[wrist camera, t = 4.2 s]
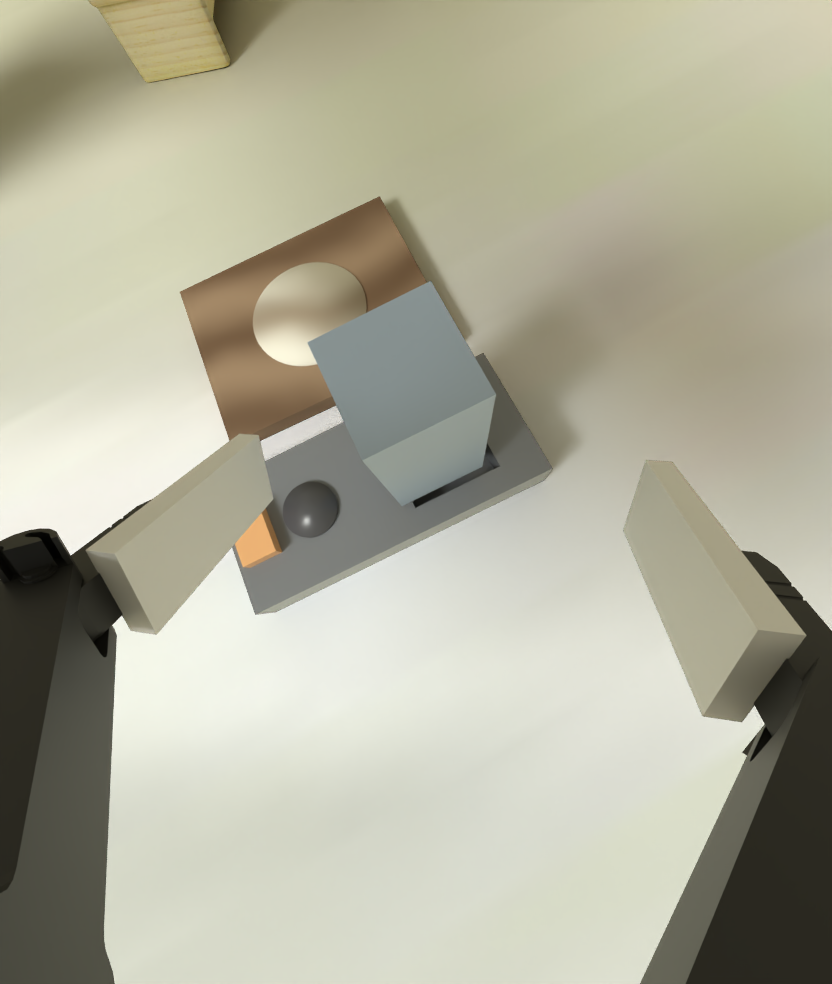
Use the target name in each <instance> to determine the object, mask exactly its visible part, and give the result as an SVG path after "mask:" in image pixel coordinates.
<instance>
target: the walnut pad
mask: <svg viewBox="0 0 832 984" xmlns="http://www.w3.org/2000/svg"><path fill="white" fill-rule="evenodd" d="M425 283H427V282H426V280H425V278H424V277H423V275H422V273H421V271H420V269H419V267H418V266H417V264H416V262H415V260H414V258H413V256H412V255H411V253H410V251H409V249H408V247H407V245H406V244H405V242H404V240H403V238H402V236H401V234H400V233H399V231H398V229H397V227H396V225H395V224H394V222H393V220H392V218H391V216H390V214H389V213H388V211H387V209H386V207H385V205H384V203H383V202H382V200H381V198H380V196H379V197H377V198H375V199H373V200H371V201H369V202H367V203H365V204H363V205H361V206H359V207H356V208H354V209H352V210H350V211H348V212H346V213H344V214H342V215H340V216H338V217H336V218H333V219H331V220H329V221H327V222H325V223H323V224H321V225H319V226H317V227H315V228H313V229H310V230H308V231H306V232H304V233H302V234H300V235H298V236H296V237H294V238H292V239H290V240H287V241H285V242H283V243H281V244H279V245H277V246H275V247H273V248H271V249H269V250H266V251H264V252H262V253H260V254H258V255H256V256H254V257H252V258H250V259H248V260H246V261H243V262H241V263H239V264H237V265H235V266H233V267H231V268H229V269H227V270H225V271H223V272H220V273H218V274H216V275H214V276H212V277H210V278H208V279H206V280H204V281H202V282H200V283H197V284H195V285H193V286H191V287H189V288H187V289H185V290H183V291H181V292H180V294H181V297H182V300H183V303H184V306H185V309H186V312H187V315H188V318H189V321H190V324H191V327H192V330H193V333H194V336H195V339H196V342H197V345H198V348H199V351H200V354H201V357H202V360H203V363H204V366H205V369H206V372H207V375H208V378H209V381H210V384H211V387H212V389H213V392H214V395H215V398H216V401H217V404H218V407H219V410H220V413H221V416H222V419H223V422H224V425H225V428H226V431H227V434H228V437H229V440H232V439H233V438H234V437H236V436H237V435H238V434H250V435H259V439H260V441H261V440H263V439H265V438H267V437H269V436H271V435H274V434H276V433H278V432H280V431H282V430H284V429H286V428H289V427H291V426H293V425H295V424H297V423H299V422H301V421H304V420H306V419H308V418H310V417H312V416H314V415H316V414H318V413H321V412H323V411H325V410H327V409H329V408H331V407H333V406H336V403H335V401H334V399H333V397H332V395H331V393H330V391H329V388H328V386H327V384H326V382H325V380H324V378H323V375H322V373H321V371H320V369H319V367H318V365H317V363H316V360H315V358H314V356H313V354H312V352H311V350H310V347H309V345H308V343H307V342H309V341H311V340H313V339H315V338H317V337H319V336H321V335H323V334H325V333H327V332H329V331H331V330H333V329H335V328H337V327H339V326H341V325H343V324H345V323H347V322H349V321H351V320H353V319H355V318H357V317H359V316H361V315H363V314H365V313H367V312H369V311H371V310H373V309H375V308H377V307H379V306H381V305H383V304H385V303H387V302H389V301H391V300H393V299H395V298H397V297H399V296H401V295H403V294H405V293H407V292H409V291H411V290H413V289H415V288H417V287H419V286H421V285H423V284H425Z"/></svg>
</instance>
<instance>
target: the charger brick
mask: <svg viewBox="0 0 832 984" xmlns="http://www.w3.org/2000/svg"><path fill="white" fill-rule="evenodd" d="M307 343H308V345H309V347H310V350H311V352H312V354H313V356H314V358H315V360H316V363H317V365H318V367H319V369H320V371H321V373H322V375H323V378H324V380H325V382H326V384H327V386H328V388H329V391H330V393H331V395H332V397H333V399H334V401H335V403H336V406H337V408H338V410H339V412H340V414H341V416H342V419H343V421H344V423H345V425H346V427H347V429H348V431H349V434H350V436H351V438H352V440H353V442H354V444H355V447H356V449H357V451H358V453H359V455H360V457H361V459H362V461H363V462H364V463H365V465H366V466H367V467H368V468H369V469H370V470H371V471H372V473H373V474H374V475H375V476H376V477H377V478H378V479H379V481H380V482H381V483H382V484H383V485H384V486H385V487H386V489H387V490H388V491H389V492H390V493H391V494H392V495H393V497H394V498H395V499H396V500H397V501H398V502H399V503H400V505H401V506H404V505H406V504H408V503H410V502H412V501H414V500H416V499H418V498H420V497H422V496H424V495H426V494H428V493H430V492H432V491H434V490H436V489H438V488H440V487H442V486H444V485H446V484H448V483H450V482H452V481H454V480H456V479H458V478H461V477H463V476H465V475H467V474H469V473H471V472H473V471H475V470H477V469H479V468H481V467H482V466H483V461H484V455H485V450H486V445H487V440H488V434H489V429H490V424H491V418H492V413H493V408H494V403H495V397H496V393H495V392H494V390H493V388H492V386H491V385H490V383H489V381H488V379H487V378H486V376H485V374H484V372H483V371H482V369H481V367H480V365H479V364H478V362H477V360H476V358H475V357H474V355H473V353H472V352H471V350H470V348H469V346H468V345H467V343H466V341H465V339H464V338H463V336H462V334H461V332H460V331H459V329H458V327H457V325H456V324H455V322H454V320H453V319H452V317H451V315H450V313H449V312H448V310H447V308H446V306H445V305H444V303H443V301H442V299H441V298H440V296H439V294H438V292H437V291H436V289H435V287H434V285H433V284H432V282H431V281H429V282H427V283H425V284H423V285H421V286H419V287H417V288H415V289H413V290H411V291H409V292H407V293H405V294H403V295H401V296H399V297H397V298H395V299H393V300H391V301H389V302H387V303H385V304H383V305H381V306H379V307H377V308H375V309H373V310H371V311H369V312H367V313H365V314H363V315H361V316H359V317H357V318H355V319H353V320H351V321H349V322H347V323H345V324H343V325H341V326H339V327H337V328H335V329H333V330H331V331H329V332H327V333H325V334H323V335H321V336H319V337H317V338H315V339H313V340H311V341H309V342H307Z"/></svg>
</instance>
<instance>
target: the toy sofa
mask: <svg viewBox="0 0 832 984" xmlns="http://www.w3.org/2000/svg"><path fill="white" fill-rule="evenodd" d="M88 1H89V2H90V3H91V4H92V5H93V6H94V7H97V8H98V9H99V11H100V12H101V14H102V15H103V17H104V19H105V20H106V22H107V23H108V25H109V26H110V28H111V29H112V31H113V32H114V34H115V35H116V37H117V39H118V40H119V42H120V43H121V45H122V46H123V48H124V49H125V51H126V53H127V54H128V56H129V57H130V59H131V61H132V62H133V64H134V65H135V67H136V68H137V70H138V71H139V73H140V75H141V76H142V77H143V79H144V80H145V81H146V82H154V81H159V80H165V79H170V78H175V77H180V76H184V75H189V74H194V73H199V72H204V71H209V70H214V69H219V68H224V67H226V66H228V65H229V64H230V57H229V55H228V53H227V50H226V48H225V46H224V44H223V41H222V39H221V37H220V35H219V33H218V30H217V28H216V26H215V23H214V20H213V11H214V2H215V0H88Z"/></svg>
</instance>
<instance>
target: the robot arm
mask: <svg viewBox="0 0 832 984" xmlns="http://www.w3.org/2000/svg"><path fill="white" fill-rule="evenodd" d="M272 500H273V495H272V491H271V486H270V482H269V478H268V473H267V469H266V465H265V460H264V456H263V452H262V447H261V443H260V439H259V435H250V434H238V435H237V436H236V437H234V438H233V439H232V440H230V441H229V442H228V443H226V444H225V445H224V446H222V447H221V448H220V449H218V450H217V451H216V452H215V453H213V454H212V455H211V456H209V457H208V458H207V459H205V460H204V461H203V462H201V463H200V464H199V465H197V466H196V467H195V468H193V469H192V470H191V471H189V472H188V473H187V474H185V475H184V476H183V477H181V478H180V479H179V480H177V481H176V482H175V483H174V484H172V485H171V486H170V487H168V488H167V489H166V490H164V491H163V492H162V493H160V494H159V495H158V496H156V497H155V498H154V499H152V500H150V501H147V502H145V503H143V504H141V505H139V506H137V507H136V508H134V509H133V510H132V511H130V512H129V513H128V514H126V515H125V516H124V517H123V519H120V520H118V521H117V522H115V523H114V524H113V525H112V527H111V528H110V527H109V528H107V529H106V530H105V531H103V532H102V533H101V534H99V535H98V536H97V537H95V538H94V539H93V540H91V541H90V542H89V543H87V544H86V545H85V546H83V547H82V548H81V549H79V550H78V551H76V552H75V553H74V554H72V555H71V556H70V554H69V552H68V550H67V549H66V547H65V545H64V544H63V542H62V540H61V539H60V537H59V535H58V534H57V532H56V531H54V530H52V529H35V530H29V531H25V532H22V533H19V534H15V535H12V536H10V537H8V538H6V539H4V540H2V541H0V984H115V983H114V977H113V971H112V968H111V965H110V962H109V959H108V956H107V953H106V950H105V943H104V913H105V890H106V867H107V844H108V821H109V798H110V775H111V753H112V730H113V707H114V684H115V661H116V638H117V635H116V632H115V629H114V628H113V626H112V625H113V624H114V623H115V622H116V621H117V620H118V619H119V618H120V617H121V616H123V618H124V620H125V621H126V623H127V625H128V627H129V628H130V630H131V631H135V632H142V633H149V634H155V635H157V634H158V632H159V631H160V630H161V629H162V628H163V627H164V625H165V624H166V623H167V622H168V621H169V620H170V618H171V617H172V616H173V615H174V614H175V613H176V612H177V610H178V609H179V608H180V607H181V606H182V605H183V603H184V602H185V601H186V600H187V599H188V598H189V596H190V595H191V594H192V593H193V592H194V591H195V589H196V588H197V587H198V586H199V585H200V584H201V583H202V581H203V580H204V579H205V578H206V577H207V576H208V574H209V573H210V572H211V571H212V570H213V569H214V567H215V566H216V565H217V564H218V563H219V562H220V560H221V559H222V558H223V557H224V556H225V555H226V553H227V552H228V551H229V550H230V549H231V548H232V547H233V545H234V544H235V543H236V542H237V541H238V540H239V538H240V537H241V536H242V535H243V534H244V533H245V531H246V530H247V529H248V528H249V527H250V526H251V524H252V523H253V522H254V521H255V520H256V519H257V518H258V516H259V515H260V514H261V513H262V512H263V511H264V509H265V508H266V507H267V506H268V505H269V504H270V502H271V501H272ZM623 531H624V533H625V535H626V538H627V540H628V543H629V545H630V547H631V550H632V552H633V554H634V557H635V559H636V561H637V564H638V566H639V568H640V571H641V573H642V575H643V578H644V580H645V582H646V585H647V587H648V589H649V592H650V594H651V597H652V599H653V601H654V604H655V606H656V608H657V611H658V613H659V615H660V618H661V620H662V622H663V625H664V627H665V629H666V632H667V634H668V636H669V639H670V641H671V643H672V646H673V648H674V651H675V653H676V655H677V658H678V660H679V662H680V665H681V667H682V669H683V672H684V674H685V676H686V679H687V681H688V683H689V686H690V688H691V690H692V693H693V695H694V697H695V700H696V702H697V705H698V707H699V709H700V712H701V714H702V716H704V717H711V718H718V719H724V720H731V721H738V722H742V721H743V720H744V719H745V717H746V716H747V715H748V713H749V712H750V711H751V709H752V708H753V707H754V705H755V707H756V709H757V710H758V712H759V714H760V716H761V718H762V720H763V721H764V723H765V725H764V726H763V727H762V728H761V730H760V731H759V732H758V733H757V735H756V736H755V737H754V738H753V740H752V741H751V742H750V743H749V745H748V746H747V747H746V748H745V750H744V751H743V753H744V754H745V755H747V757H746V759H745V761H744V764H743V766H742V768H741V770H740V772H739V774H738V776H737V778H736V781H735V783H734V785H733V787H732V789H731V791H730V793H729V796H728V798H727V800H726V802H725V804H724V806H723V808H722V810H721V813H720V815H719V817H718V819H717V821H716V823H715V825H714V827H713V830H712V832H711V834H710V836H709V838H708V840H707V842H706V845H705V847H704V849H703V851H702V853H701V855H700V857H699V859H698V862H697V864H696V866H695V868H694V870H693V872H692V874H691V876H690V879H689V881H688V883H687V885H686V887H685V889H684V891H683V894H682V896H681V898H680V900H679V902H678V904H677V906H676V908H675V911H674V913H673V915H672V917H671V919H670V921H669V923H668V925H667V928H666V930H665V932H664V934H663V936H662V938H661V940H660V943H659V945H658V947H657V949H656V951H655V953H654V955H653V957H652V960H651V962H650V964H649V966H648V968H647V970H646V972H645V974H644V977H643V979H642V981H641V983H640V984H832V631H831V630H830V629H829V627H828V626H827V625H826V624H825V623H824V621H823V620H822V619H821V618H820V617H819V616H818V614H817V613H816V612H815V611H814V610H813V608H812V607H811V606H810V605H809V604H808V603H807V601H803V597H802V595H801V594H800V593H799V592H798V591H797V590H796V588H795V587H792V586H791V582H790V581H789V580H788V579H787V578H786V577H785V575H784V574H783V573H782V572H781V571H780V569H779V568H778V567H777V566H775V565H774V564H772V563H771V562H769V561H768V560H767V559H765V558H764V557H762V556H761V555H760V554H758V553H757V552H747V551H741V550H740V549H739V548H738V546H737V545H736V544H735V542H734V541H733V540H732V539H731V537H730V536H729V535H728V533H727V532H726V531H725V530H724V528H723V527H722V526H721V524H720V523H719V522H718V520H717V519H716V518H715V517H714V515H713V514H712V513H711V511H710V510H709V509H708V508H707V506H706V505H705V504H704V502H703V501H702V500H701V499H700V497H699V496H698V495H697V493H696V492H695V491H694V489H693V488H692V487H691V486H690V484H689V483H688V482H687V480H686V479H685V478H684V477H683V475H682V474H681V473H680V471H679V470H678V469H677V467H676V466H675V465H674V464H673V462H666V461H650V460H646V461H645V465H644V468H643V471H642V474H641V477H640V480H639V483H638V486H637V489H636V493H635V496H634V499H633V502H632V505H631V508H630V511H629V514H628V517H627V520H626V524H625V527H624V530H623Z"/></svg>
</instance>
